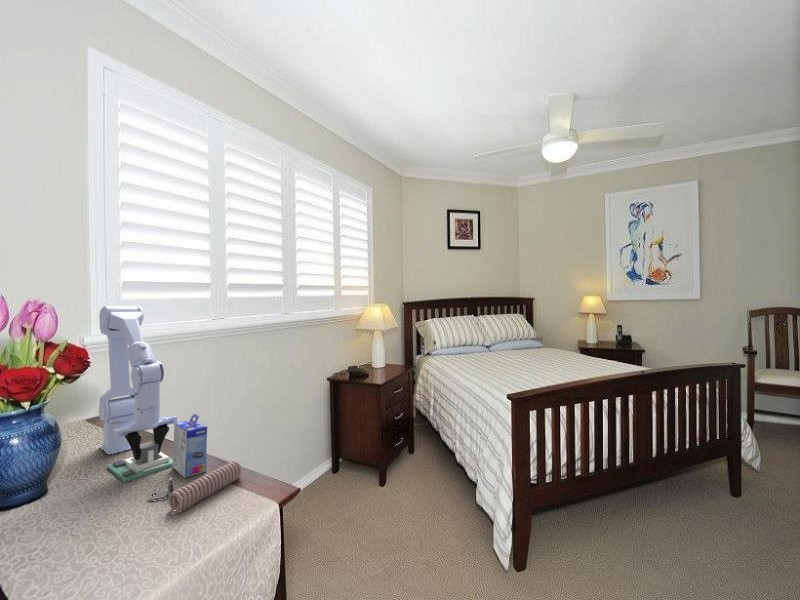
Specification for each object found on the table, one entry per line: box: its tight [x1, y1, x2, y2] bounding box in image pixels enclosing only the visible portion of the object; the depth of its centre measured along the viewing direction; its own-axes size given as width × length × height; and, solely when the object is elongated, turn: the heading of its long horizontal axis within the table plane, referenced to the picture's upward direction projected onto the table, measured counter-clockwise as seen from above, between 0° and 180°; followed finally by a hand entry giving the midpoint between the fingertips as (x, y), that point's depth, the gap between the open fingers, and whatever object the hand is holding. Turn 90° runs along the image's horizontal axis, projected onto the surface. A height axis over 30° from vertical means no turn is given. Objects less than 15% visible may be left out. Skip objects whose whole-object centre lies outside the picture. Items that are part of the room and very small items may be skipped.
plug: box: [136, 440, 159, 465], centre depth 99 cm, size 5×4×5 cm
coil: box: [168, 460, 242, 515], centre depth 85 cm, size 5×5×18 cm
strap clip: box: [147, 476, 175, 502], centre depth 84 cm, size 8×3×4 cm, turn 111°
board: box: [106, 451, 173, 483], centre depth 99 cm, size 13×12×2 cm
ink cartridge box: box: [172, 413, 208, 478], centre depth 98 cm, size 10×6×14 cm, turn 49°
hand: (146, 455), depth 100 cm, fingers open, 4 cm apart
